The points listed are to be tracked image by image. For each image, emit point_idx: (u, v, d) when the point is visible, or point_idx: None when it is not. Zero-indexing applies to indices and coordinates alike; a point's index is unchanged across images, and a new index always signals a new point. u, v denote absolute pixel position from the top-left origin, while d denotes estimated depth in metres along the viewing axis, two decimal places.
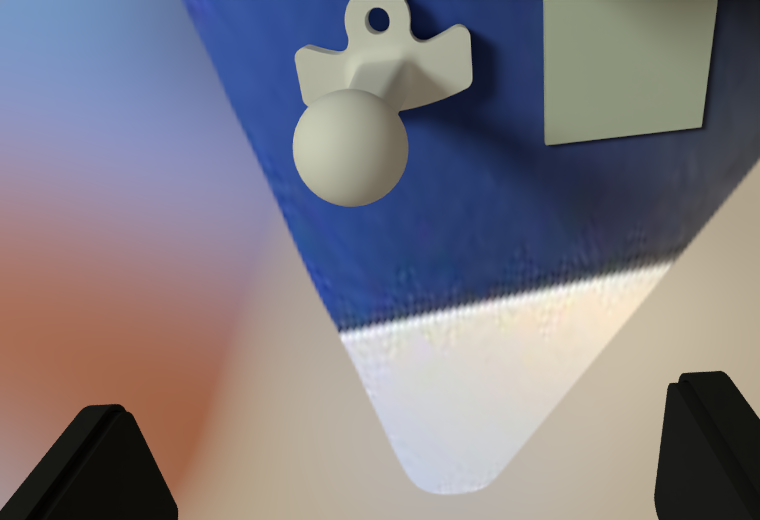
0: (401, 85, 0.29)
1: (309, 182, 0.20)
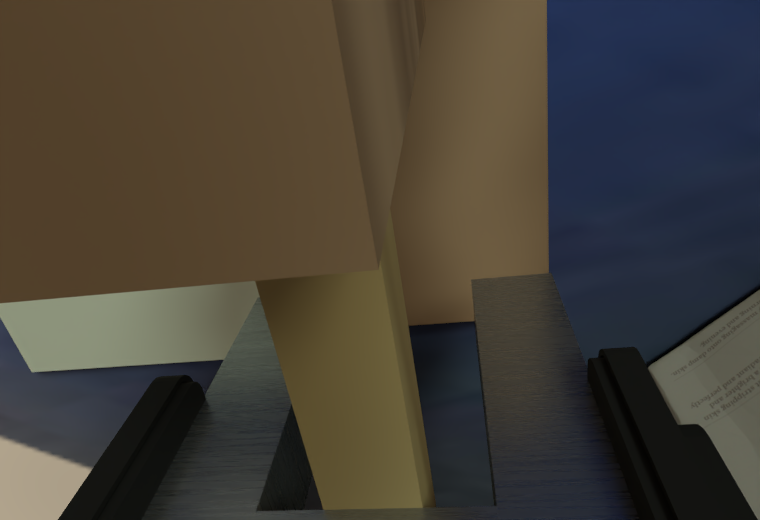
0: None
1: None
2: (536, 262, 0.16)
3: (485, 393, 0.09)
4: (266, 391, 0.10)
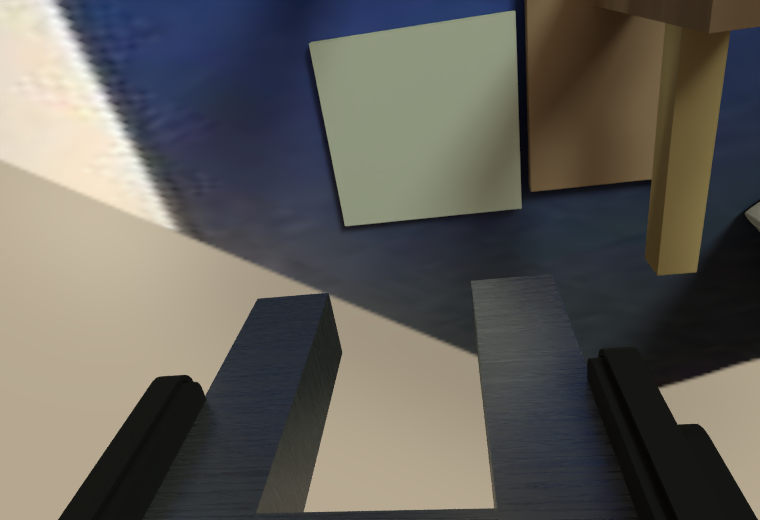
0: None
1: None
2: None
3: (485, 395, 0.09)
4: (266, 393, 0.10)
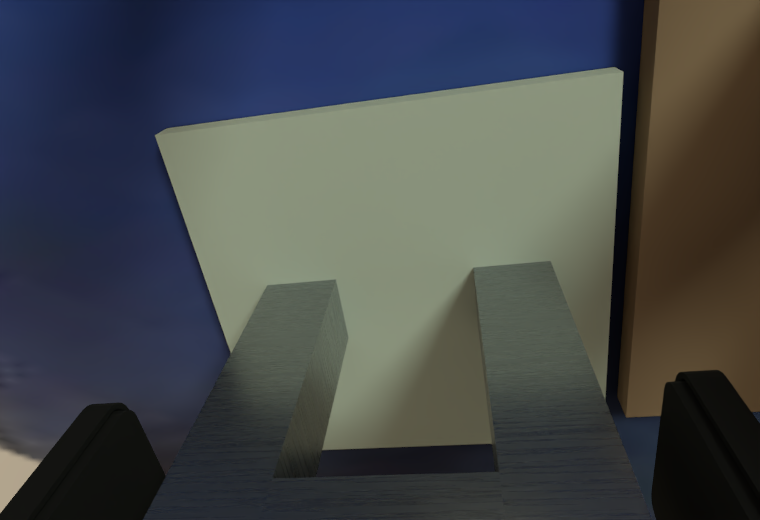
0: None
1: None
2: None
3: (487, 371, 0.10)
4: (279, 371, 0.11)
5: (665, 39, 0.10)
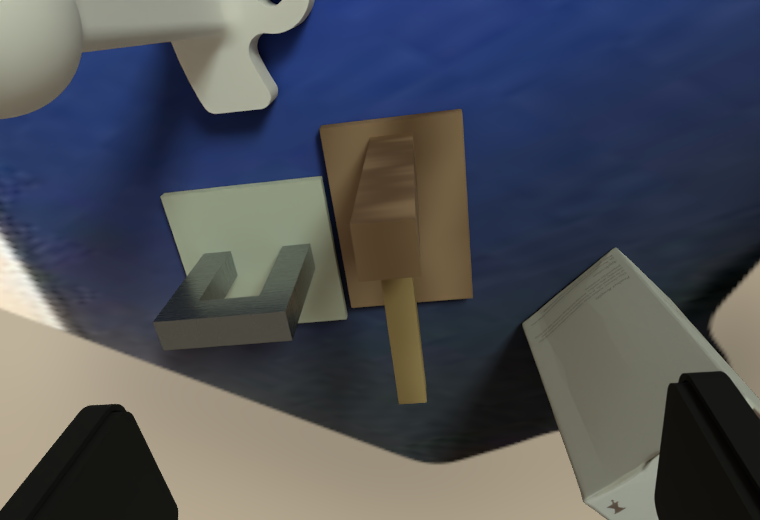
0: (172, 41, 0.22)
1: None
2: (466, 272, 0.34)
3: None
4: (204, 278, 0.31)
5: (329, 170, 0.31)
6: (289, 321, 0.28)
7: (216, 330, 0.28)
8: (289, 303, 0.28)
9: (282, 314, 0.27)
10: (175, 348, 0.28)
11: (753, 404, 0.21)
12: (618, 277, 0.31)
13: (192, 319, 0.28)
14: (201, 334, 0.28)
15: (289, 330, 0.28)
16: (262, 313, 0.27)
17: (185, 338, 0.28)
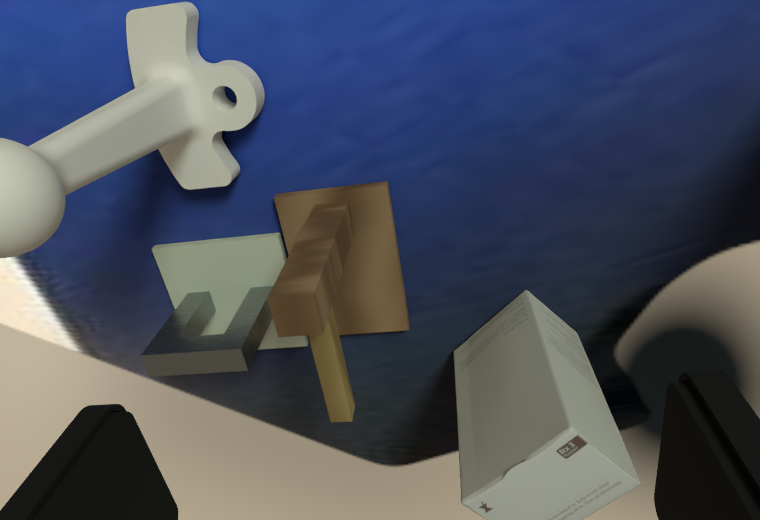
0: None
1: None
2: (401, 310, 0.41)
3: None
4: (184, 316, 0.39)
5: (284, 229, 0.39)
6: (245, 355, 0.35)
7: (189, 361, 0.35)
8: (245, 341, 0.35)
9: (238, 350, 0.35)
10: (158, 375, 0.36)
11: (577, 432, 0.27)
12: (521, 318, 0.38)
13: (170, 353, 0.35)
14: (177, 365, 0.36)
15: (245, 363, 0.35)
16: (223, 350, 0.35)
17: (165, 367, 0.36)
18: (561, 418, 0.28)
